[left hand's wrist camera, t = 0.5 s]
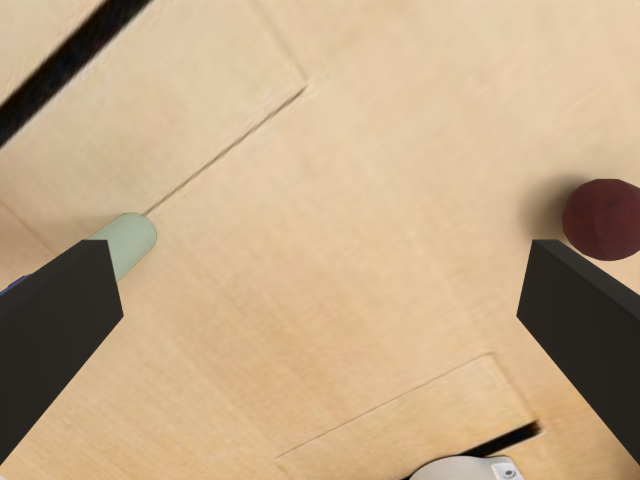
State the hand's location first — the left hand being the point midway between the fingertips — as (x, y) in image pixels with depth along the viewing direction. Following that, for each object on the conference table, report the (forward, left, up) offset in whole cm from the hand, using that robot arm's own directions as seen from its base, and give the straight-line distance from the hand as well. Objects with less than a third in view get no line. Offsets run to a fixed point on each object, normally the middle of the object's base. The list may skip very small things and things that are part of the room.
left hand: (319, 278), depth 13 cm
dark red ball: (+6, +27, -28) cm, 39 cm away
